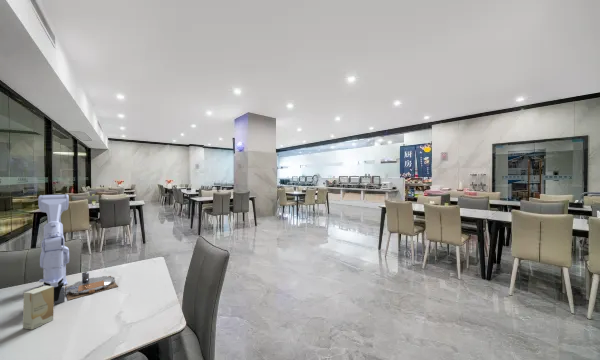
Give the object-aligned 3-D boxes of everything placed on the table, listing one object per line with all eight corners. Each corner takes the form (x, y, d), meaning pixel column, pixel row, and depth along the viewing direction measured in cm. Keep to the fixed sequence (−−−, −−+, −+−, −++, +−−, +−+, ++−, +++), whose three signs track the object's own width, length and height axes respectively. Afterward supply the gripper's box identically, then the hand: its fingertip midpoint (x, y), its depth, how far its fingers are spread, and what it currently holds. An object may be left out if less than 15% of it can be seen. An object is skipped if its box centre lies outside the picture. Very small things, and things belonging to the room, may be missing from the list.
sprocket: (53, 295, 103) (53, 282, 103) (88, 278, 121) (88, 267, 121) (95, 294, 104) (95, 282, 104) (123, 277, 122) (123, 266, 121)
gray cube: (43, 304, 97) (43, 291, 97) (63, 298, 102) (63, 286, 102) (43, 307, 95) (43, 294, 95) (64, 301, 99) (64, 289, 99)
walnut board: (65, 287, 112) (65, 286, 112) (110, 276, 125) (110, 275, 125) (67, 300, 100) (67, 299, 100) (118, 286, 113) (118, 286, 113)
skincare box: (31, 330, 80) (31, 294, 80) (22, 328, 81) (21, 293, 81) (55, 319, 87) (54, 285, 87) (45, 317, 88) (45, 284, 87)
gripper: (39, 264, 100) (39, 297, 100) (38, 274, 90) (39, 310, 90) (63, 260, 105) (63, 291, 105) (65, 268, 95) (65, 302, 95)
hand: (53, 299), depth 98 cm, fingers closed on gray cube, 4 cm apart
